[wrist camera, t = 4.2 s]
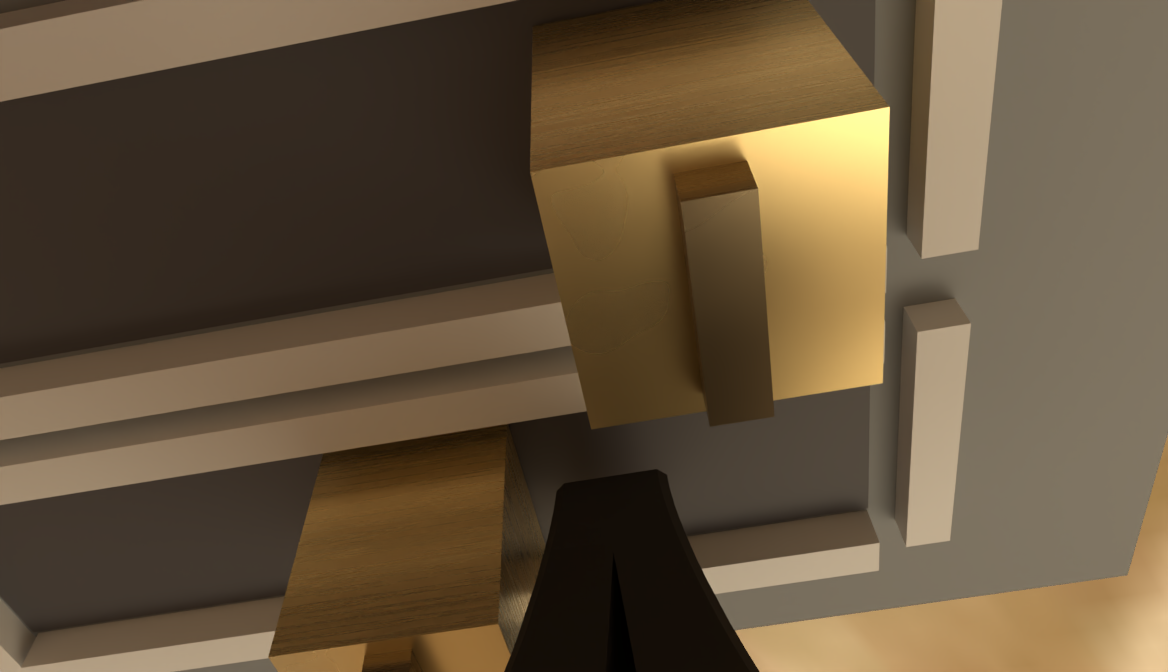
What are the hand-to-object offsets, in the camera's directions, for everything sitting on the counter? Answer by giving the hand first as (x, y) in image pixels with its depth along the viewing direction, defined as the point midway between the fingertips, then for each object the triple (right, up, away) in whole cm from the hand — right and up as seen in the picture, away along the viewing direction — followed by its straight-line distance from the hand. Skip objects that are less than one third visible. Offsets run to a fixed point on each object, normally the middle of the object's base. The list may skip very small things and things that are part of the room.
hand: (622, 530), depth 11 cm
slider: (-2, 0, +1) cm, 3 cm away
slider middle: (0, +5, -2) cm, 5 cm away
